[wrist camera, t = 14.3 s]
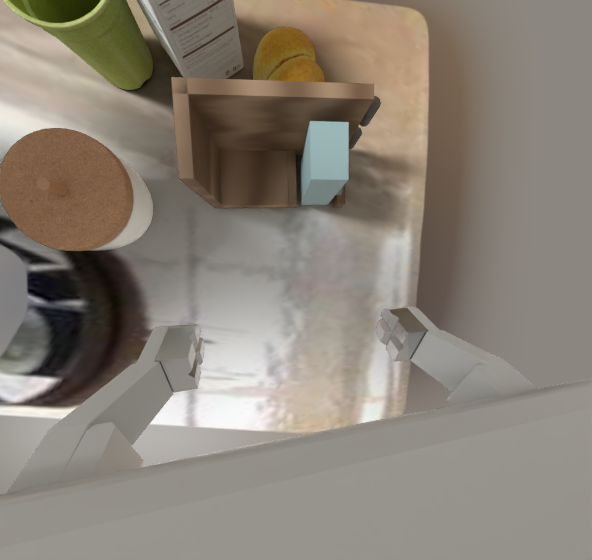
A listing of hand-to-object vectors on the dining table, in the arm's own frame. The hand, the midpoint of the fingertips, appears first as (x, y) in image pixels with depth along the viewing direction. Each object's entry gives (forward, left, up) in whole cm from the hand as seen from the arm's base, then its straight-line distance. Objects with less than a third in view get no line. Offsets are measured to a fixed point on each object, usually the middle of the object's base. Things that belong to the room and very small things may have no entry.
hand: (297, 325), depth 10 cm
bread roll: (+1, +25, -20) cm, 32 cm away
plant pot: (-18, +27, -20) cm, 38 cm away
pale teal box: (+4, +13, -20) cm, 24 cm away
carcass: (0, +14, -20) cm, 24 cm away
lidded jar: (-20, +10, -20) cm, 30 cm away
